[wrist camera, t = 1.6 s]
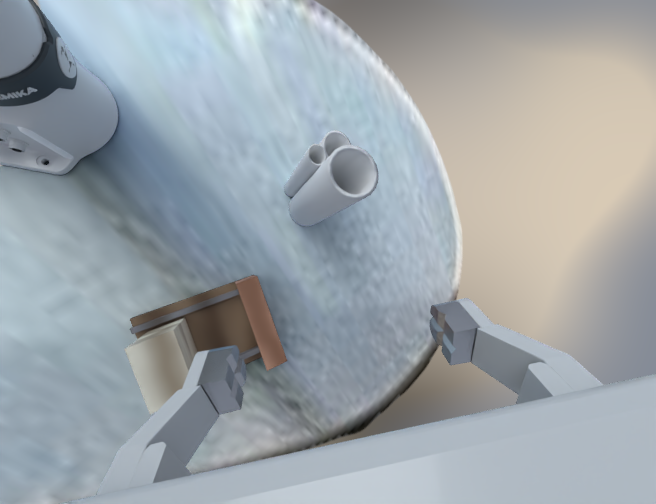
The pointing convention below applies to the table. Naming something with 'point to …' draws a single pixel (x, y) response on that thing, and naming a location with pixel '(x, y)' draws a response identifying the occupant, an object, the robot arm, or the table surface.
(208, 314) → the track
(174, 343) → the cream rectangular block
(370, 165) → the vase
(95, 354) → the table surface
